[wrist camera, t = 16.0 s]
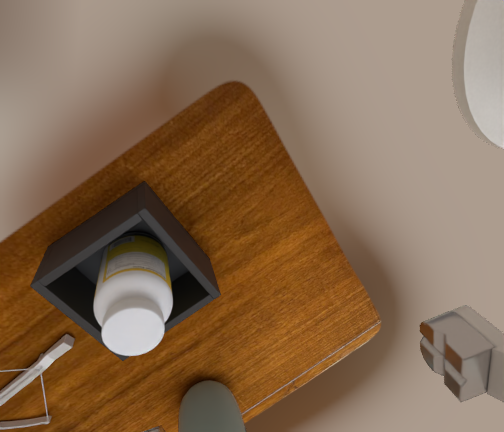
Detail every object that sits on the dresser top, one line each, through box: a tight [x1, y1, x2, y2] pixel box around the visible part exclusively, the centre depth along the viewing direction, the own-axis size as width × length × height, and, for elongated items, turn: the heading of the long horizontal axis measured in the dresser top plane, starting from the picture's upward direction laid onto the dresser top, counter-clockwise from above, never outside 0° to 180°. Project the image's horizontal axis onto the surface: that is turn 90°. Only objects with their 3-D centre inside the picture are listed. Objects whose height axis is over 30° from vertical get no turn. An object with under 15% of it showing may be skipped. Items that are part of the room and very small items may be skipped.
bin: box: [30, 181, 221, 361], centre depth 37 cm, size 12×12×7 cm
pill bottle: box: [93, 232, 173, 356], centre depth 34 cm, size 6×6×12 cm
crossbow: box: [0, 334, 74, 430], centre depth 42 cm, size 16×13×2 cm
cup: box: [178, 380, 246, 432], centre depth 47 cm, size 8×8×10 cm
